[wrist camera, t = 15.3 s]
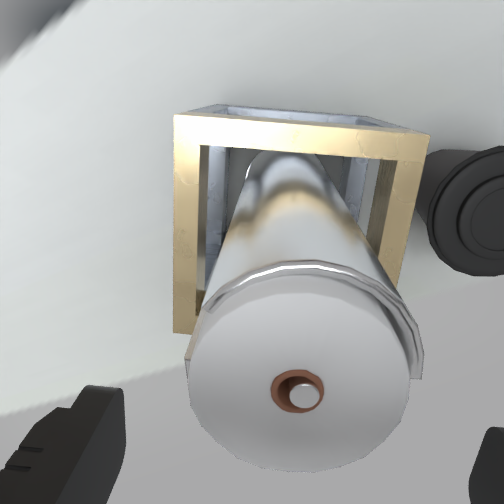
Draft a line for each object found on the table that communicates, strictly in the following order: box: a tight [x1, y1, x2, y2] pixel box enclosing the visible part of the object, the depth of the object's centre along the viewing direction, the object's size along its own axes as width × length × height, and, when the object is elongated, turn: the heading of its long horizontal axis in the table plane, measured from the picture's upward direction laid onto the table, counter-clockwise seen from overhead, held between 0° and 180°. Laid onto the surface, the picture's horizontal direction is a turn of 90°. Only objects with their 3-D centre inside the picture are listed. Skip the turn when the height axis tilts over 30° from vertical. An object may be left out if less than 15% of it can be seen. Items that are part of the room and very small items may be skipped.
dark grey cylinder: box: [415, 146, 504, 276], centre depth 28 cm, size 8×8×10 cm
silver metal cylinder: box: [184, 150, 424, 472], centre depth 22 cm, size 6×6×25 cm
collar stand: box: [173, 104, 430, 335], centre depth 27 cm, size 11×11×14 cm
